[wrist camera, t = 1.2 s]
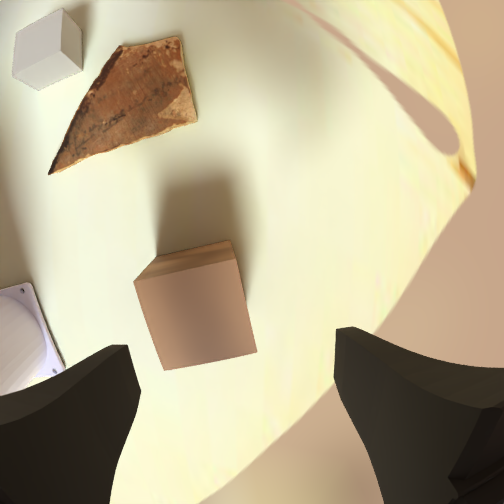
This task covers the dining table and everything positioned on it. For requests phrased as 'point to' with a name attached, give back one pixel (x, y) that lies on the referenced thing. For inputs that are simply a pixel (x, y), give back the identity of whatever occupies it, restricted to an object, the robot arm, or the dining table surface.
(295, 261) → the dining table surface
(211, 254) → the walnut block
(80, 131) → the shard
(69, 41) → the light-grey block
